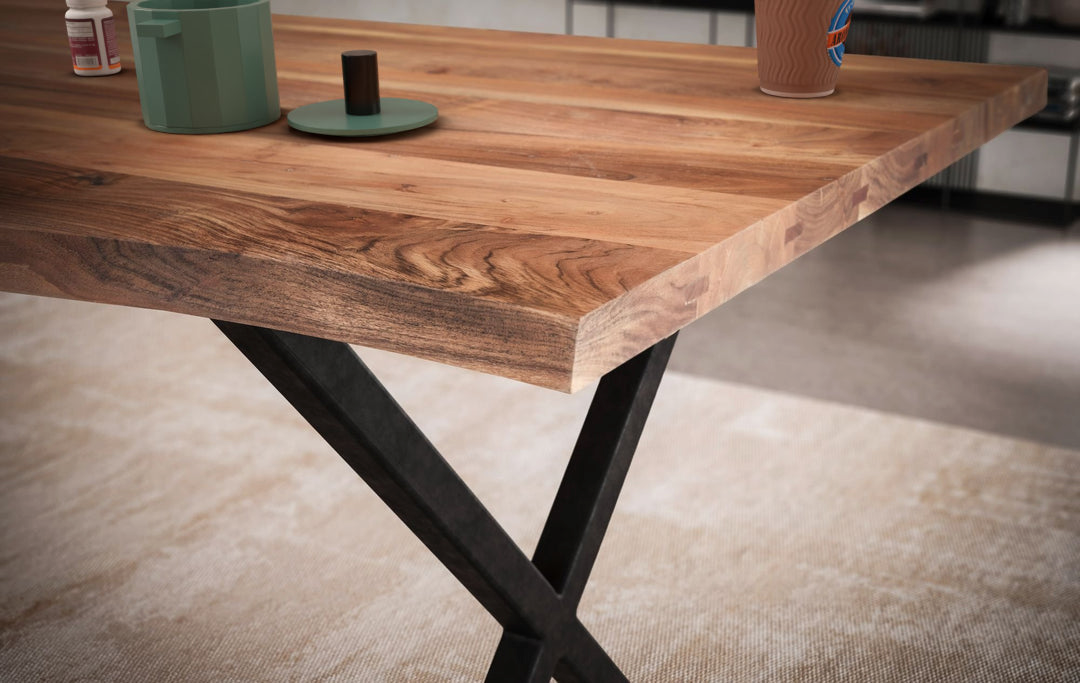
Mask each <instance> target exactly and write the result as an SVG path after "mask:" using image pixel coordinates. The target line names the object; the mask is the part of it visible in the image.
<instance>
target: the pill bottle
mask: <svg viewBox="0 0 1080 683" xmlns="http://www.w3.org/2000/svg"><path fill="white" fill-rule="evenodd" d="M65 4H66V7H68V8H69V9H68V10H67V11H66V12H65V15H64V20H65V26H66V30H67V36H68V42H69V48H70V54H71V59H72V65H73V70H74V73H75V74H76V75H78V76H81V77H98V76H99V77H101V76H110V75H114V74H117V73H120V71H121V70H122V66H121V59H120V53H119V52H120V51H119V46H118V39H117V33H116V28H115V20H114V14H113V12H112V10H111V9H110V8H108V7H107V5H108V0H65Z"/></svg>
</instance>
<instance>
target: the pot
mask: <svg viewBox="0 0 1080 683" xmlns="http://www.w3.org/2000/svg"><path fill="white" fill-rule="evenodd" d="M126 12H127V21H128V26H129V33H130V39H131V46H132V53H133V60H134V67H135V74H136V81H137V88H138V94H139V102H140V109H141V115H142V116H141V117H142V120H143V121H144V125H145V126H146V127H147V128H148V129H150V130H153V131H157V132H161V133H168V134H180V135H206V134H207V135H208V134H221V133H232V132H233V133H234V132H239V131H247V130H250V129H255V128H256V129H257V128H261V127H263V126H266V125H269V124H272V123H275V122H276V121H278V120H279V119H280V118H281V116H282V114H281V97H280V88H279V78H278V69H277V68H278V67H277V58H276V47H275V37H274V27H273V26H274V25H273V16H272V6H271V0H135V1H130V2H129V3H128V4H126Z"/></svg>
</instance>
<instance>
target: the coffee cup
mask: <svg viewBox="0 0 1080 683" xmlns="http://www.w3.org/2000/svg"><path fill="white" fill-rule="evenodd" d="M854 4H855V0H754V16H755V17H754V18H755V19H754V20H755V38H756V53H757V54H756V56H757V76H758V79H759V86H760V90H761V91H762V93H765V94H766V95H771V96H776V97H782V98H792V99H793V98H796V99H808V98H810V99H811V98H820V97H826V96H829V95H832V93H834V92H835V88H836V85H837V82H838V80H839V77H840V76H839V75H840V71H841V66H842V63H843V57H844V53H845V48H846V43H847V39H848V34H849V29H850V24H851V19H852V16H853V7H854V6H855V5H854Z"/></svg>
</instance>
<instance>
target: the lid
mask: <svg viewBox="0 0 1080 683" xmlns="http://www.w3.org/2000/svg"><path fill="white" fill-rule="evenodd" d="M340 59H341V60H340V62H341V74H342V85H343V86H342V87H343V98H338V99H329V100H322V101H317V102H314V103H309V104H305V105H302V106H299V107H297V108H294V109H292V110H291V111H289V112H288V113H287V115H286V122H287V125H288V126H290V127H291V128H293V129H295V130H298V131H301V132H307V133H312V134H313V133H314V134H318V135H319V134H320V135H327V136H332V137H333V136H334V137H343V138H344V137H347V138H348V137H349V138H361V137H362V138H363V137H377V136H378V137H379V136H387V135H391V134H397V133H400V132H401V133H402V132H405V131H410V130H414V129H419V128H422V127H424V126H427V125H431V124H432V123H433V122H435V121H437V120H438V118H439V116H440V115H439V114H440V113H439V108H438V106H436V105H434V104H432V103H430V102H427V101H423V100H418V99H412V98H403V97H390V96H389V97H386V96H384V97H383V96H382V97H381V93H380V92H381V90H380V77H379V76H380V74H379V59H378V51H375V50H371V49H354V50H353V49H352V50H346V51H343V52H341V53H340Z"/></svg>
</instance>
